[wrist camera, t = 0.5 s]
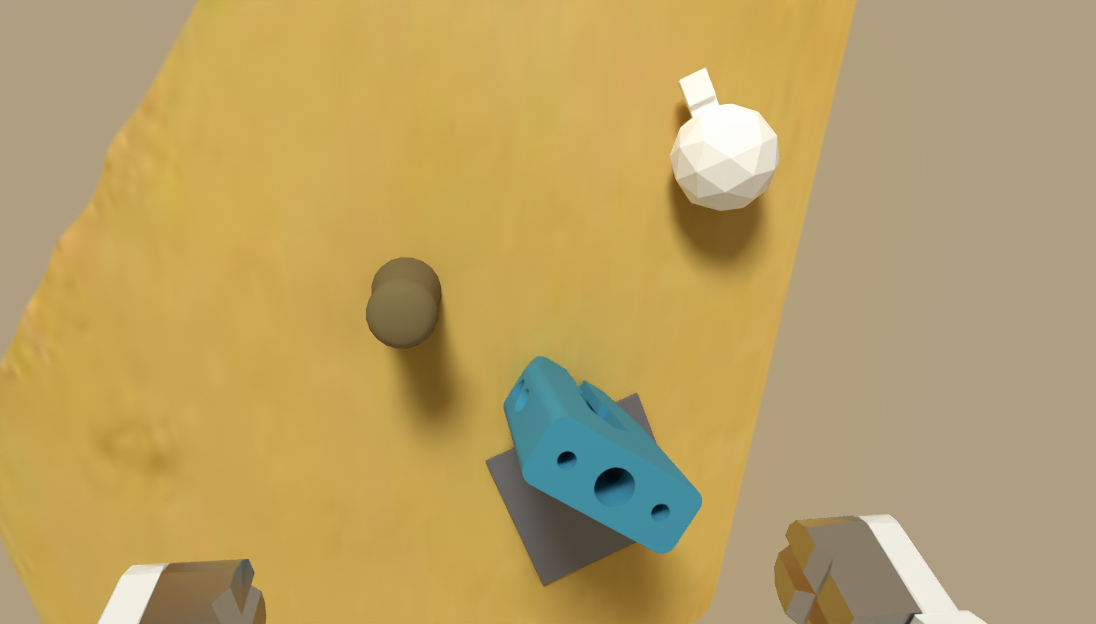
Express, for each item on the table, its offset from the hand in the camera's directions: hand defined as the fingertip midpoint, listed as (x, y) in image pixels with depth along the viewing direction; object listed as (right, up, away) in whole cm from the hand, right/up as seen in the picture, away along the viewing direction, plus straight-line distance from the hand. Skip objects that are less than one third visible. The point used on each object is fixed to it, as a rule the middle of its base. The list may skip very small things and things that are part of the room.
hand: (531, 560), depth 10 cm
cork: (-12, +6, +47) cm, 49 cm away
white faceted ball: (+14, +19, +49) cm, 54 cm away
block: (+1, -4, +51) cm, 52 cm away
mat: (+4, -14, +54) cm, 56 cm away
